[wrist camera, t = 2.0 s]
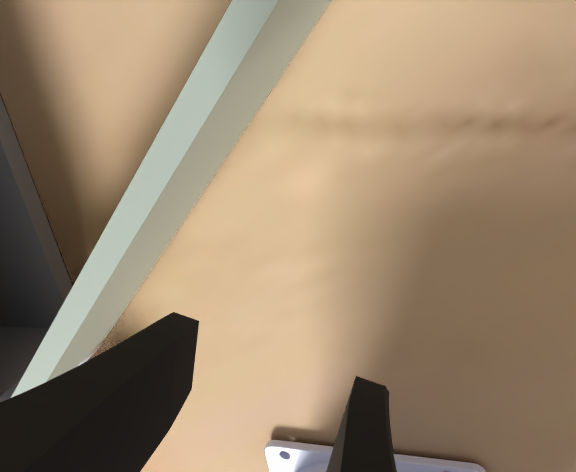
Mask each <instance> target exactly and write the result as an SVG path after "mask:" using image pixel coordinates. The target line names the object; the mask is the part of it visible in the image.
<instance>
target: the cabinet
mask: <svg viewBox="0 0 576 472" xmlns="http://www.w3.org/2000/svg"><path fill="white" fill-rule="evenodd" d="M72 287H73V286H72V283H71V281H70V278H69V275H68V273H67V270H66V267H65V265H64V262H63V259H62V257H61V254H60V251H59V249H58V246H57V244H56V241H55V238H54V236H53V233H52V230H51V228H50V225H49V222H48V220H47V217H46V214H45V212H44V209H43V206H42V204H41V201H40V199H39V196H38V193H37V191H36V188H35V185H34V183H33V180H32V177H31V175H30V172H29V169H28V167H27V164H26V162H25V159H24V156H23V154H22V151H21V148H20V146H19V143H18V140H17V138H16V135H15V132H14V130H13V127H12V125H11V122H10V119H9V117H8V114H7V111H6V109H5V106H4V103H3V101H2V98H1V95H0V402H2V401H5V400H7V399H9V398H11V396H12V395H13V393H14V391H15V389H16V387H17V386H18V384H19V382H20V380H21V379H22V377H23V375H24V373H25V371H26V370H27V368H28V366H29V364H30V362H31V361H32V359H33V357H34V355H35V353H36V352H37V350H38V348H39V346H40V344H41V343H42V341H43V339H44V337H45V335H46V334H47V332H48V330H49V328H50V326H51V325H52V323H53V321H54V319H55V317H56V316H57V314H58V312H59V310H60V308H61V307H62V305H63V303H64V301H65V299H66V298H67V296H68V294H69V292H70V291H71V289H72Z"/></svg>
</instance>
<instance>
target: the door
mask: <svg viewBox="0 0 576 472" xmlns="http://www.w3.org/2000/svg"><path fill="white" fill-rule="evenodd" d="M331 1H332V0H232V1H231V3H230V5H229V7H228V9H227V10H226V12H225V14H224V16H223V18H222V19H221V21H220V23H219V25H218V27H217V28H216V30H215V32H214V34H213V35H212V37H211V39H210V41H209V43H208V44H207V46H206V48H205V50H204V52H203V53H202V55H201V57H200V59H199V61H198V62H197V64H196V66H195V68H194V70H193V71H192V73H191V75H190V77H189V79H188V80H187V82H186V84H185V86H184V88H183V89H182V91H181V93H180V95H179V97H178V98H177V100H176V102H175V104H174V106H173V107H172V109H171V111H170V113H169V115H168V116H167V118H166V120H165V122H164V123H163V125H162V127H161V129H160V131H159V132H158V134H157V136H156V138H155V140H154V141H153V143H152V145H151V147H150V149H149V150H148V152H147V154H146V156H145V158H144V159H143V161H142V163H141V165H140V167H139V168H138V170H137V172H136V174H135V176H134V177H133V179H132V181H131V183H130V185H129V186H128V188H127V190H126V192H125V194H124V195H123V197H122V199H121V201H120V203H119V204H118V206H117V208H116V210H115V211H114V213H113V215H112V217H111V219H110V220H109V222H108V224H107V226H106V228H105V229H104V231H103V233H102V235H101V237H100V238H99V240H98V242H97V244H96V246H95V247H94V249H93V251H92V253H91V255H90V256H89V258H88V260H87V262H86V264H85V265H84V267H83V269H82V271H81V273H80V274H79V276H78V278H77V280H76V282H75V283H74V285H73V287H72V289H71V291H70V292H69V294H68V296H67V298H66V299H65V301H64V303H63V305H62V307H61V308H60V310H59V312H58V314H57V316H56V317H55V319H54V321H53V323H52V325H51V326H50V328H49V330H48V332H47V334H46V335H45V337H44V339H43V341H42V343H41V344H40V346H39V348H38V350H37V352H36V353H35V355H34V357H33V359H32V361H31V362H30V364H29V366H28V368H27V370H26V371H25V373H24V375H23V377H22V379H21V380H20V382H19V384H18V386H17V387H16V389H15V391H14V393H13V395H12V396H11V398H12V397H14V396H16V395H19V394H21V393H23V392H25V391H28V390H30V389H32V388H34V387H36V386H39V385H41V384H43V383H45V382H47V381H49V380H51V379H53V378H55V377H57V376H59V375H61V374H63V373H65V372H67V371H69V370H71V369H73V368H75V367H77V366H79V365H81V364H83V363H85V362H86V361H87V360H88V359H89V358H90V357H91V356H92V355H93V354H94V353H95V352H96V351H97V350H98V349H99V348H100V347H101V346H102V345H103V340H104V339H105V338H106V337H107V336H108V334H109V333H110V331H111V330H112V328H113V327H114V325H115V324H116V322H117V321H118V319H119V318H120V316H121V315H122V313H123V312H124V310H125V309H126V307H127V306H128V304H129V303H130V301H131V300H132V298H133V297H134V296H135V294H136V293H137V291H138V290H139V288H140V287H141V285H142V284H143V282H144V281H145V279H146V278H147V276H148V275H149V273H150V272H151V270H152V269H153V267H154V266H155V264H156V263H157V261H158V260H159V258H160V257H161V255H162V254H163V252H164V251H165V249H166V248H167V246H168V245H169V243H170V242H171V240H172V239H173V237H174V236H175V234H176V233H177V231H178V230H179V228H180V227H181V225H182V224H183V222H184V221H185V219H186V218H187V216H188V215H189V213H190V212H191V210H192V209H193V207H194V206H195V204H196V203H197V201H198V200H199V198H200V197H201V195H202V194H203V192H204V191H205V189H206V188H207V186H208V185H209V183H210V182H211V180H212V179H213V177H214V176H215V174H216V173H217V171H218V170H219V168H220V167H221V165H222V164H223V162H224V161H225V159H226V158H227V156H228V155H229V153H230V152H231V150H232V149H233V147H234V146H235V144H236V143H237V141H238V140H239V138H240V137H241V135H242V134H243V132H244V131H245V129H246V128H247V126H248V125H249V123H250V122H251V120H252V119H253V117H254V116H255V114H256V113H257V111H258V110H259V108H260V107H261V105H262V104H263V102H264V101H265V99H266V98H267V97H268V95H269V94H270V92H271V91H272V89H273V88H274V86H275V85H276V83H277V82H278V80H279V79H280V77H281V76H282V74H283V73H284V71H285V70H286V68H287V67H288V65H289V64H290V62H291V61H292V59H293V58H294V56H295V55H296V53H297V52H298V50H299V49H300V47H301V46H302V44H303V43H304V41H305V40H306V38H307V37H308V35H309V34H310V32H311V31H312V29H313V28H314V26H315V25H316V23H317V22H318V20H319V19H320V17H321V16H322V14H323V13H324V11H325V10H326V8H327V7H328V5H329V4H330V2H331Z"/></svg>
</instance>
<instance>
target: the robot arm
mask: <svg viewBox="0 0 576 472" xmlns="http://www.w3.org/2000/svg"><path fill="white" fill-rule="evenodd" d="M198 325H199V321H197V320H195V319H192V318H189V317H186V316H183V315H180V314H177V313H175V312H173V313H171V314H169V315H167V316H165V317H164V318H162V319H160V320H158V321H157V322H155V323H153V324H152V325H150V326H148V327H147V328H145V329H143V330H141V331H140V332H138V333H136V334H135V335H133V336H131V337H129V338H128V339H126V340H124V341H123V342H121V343H119V344H117V345H116V346H114V347H112V348H110V349H108V350H107V351H105V352H103V353H101V354H99V355H97V356H96V357H94V358H92V359H90V360H88V361H87V362H85V363H83V364H81V365H79V366H77V367H75V368H73V369H71V370H69V371H67V372H65V373H63V374H61V375H59V376H57V377H55V378H53V379H51V380H49V381H47V382H45V383H43V384H41V385H39V386H36V387H34V388H32V389H30V390H28V391H25V392H23V393H21V394H19V395H16V396H14V397H12V398H9V399H7V400H5V401H2V402H0V472H140V471H141V470H142V468H143V467H144V465H145V464H146V462H147V461H148V460H149V458H150V457H151V455H152V454H153V453H154V451H155V450H156V448H157V447H158V445H159V444H160V443H161V441H162V440H163V438H164V437H165V435H166V434H167V433H168V431H169V430H170V428H171V426H172V424H173V422H174V421H175V419H176V417H177V415H178V413H179V412H180V410H181V408H182V406H183V404H184V402H185V400H186V399H187V397H188V395H189V393H190V391H191V389H192V380H193V371H194V362H195V353H196V343H197V334H198ZM285 451H286V452H285ZM265 455H266V459H267V463H268V467H269V472H444V471H448V472H486V471H485V469H484V468H483V467H482V466H480V465H478V464H475V463H468V462H459V461H451V460H442V459H434V458H426V457H417V456H409V455H400V454H394V452H393V446H392V438H391V429H390V419H389V392H388V390H387V388H386V387H385V386H383V385H380V384H377V383H375V382H372V381H369V380H366V379H363V378H360V377H357V376H356V378H355V381H354V384H353V387H352V390H351V393H350V396H349V400H348V403H347V406H346V409H345V412H344V415H343V418H342V422H341V425H340V428H339V431H338V434H337V437H336V440H335V443H334V447H332V446H324V445H315V444H307V443H299V442H290V441H282V440H270V441H268V443H267V444H266V447H265Z"/></svg>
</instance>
